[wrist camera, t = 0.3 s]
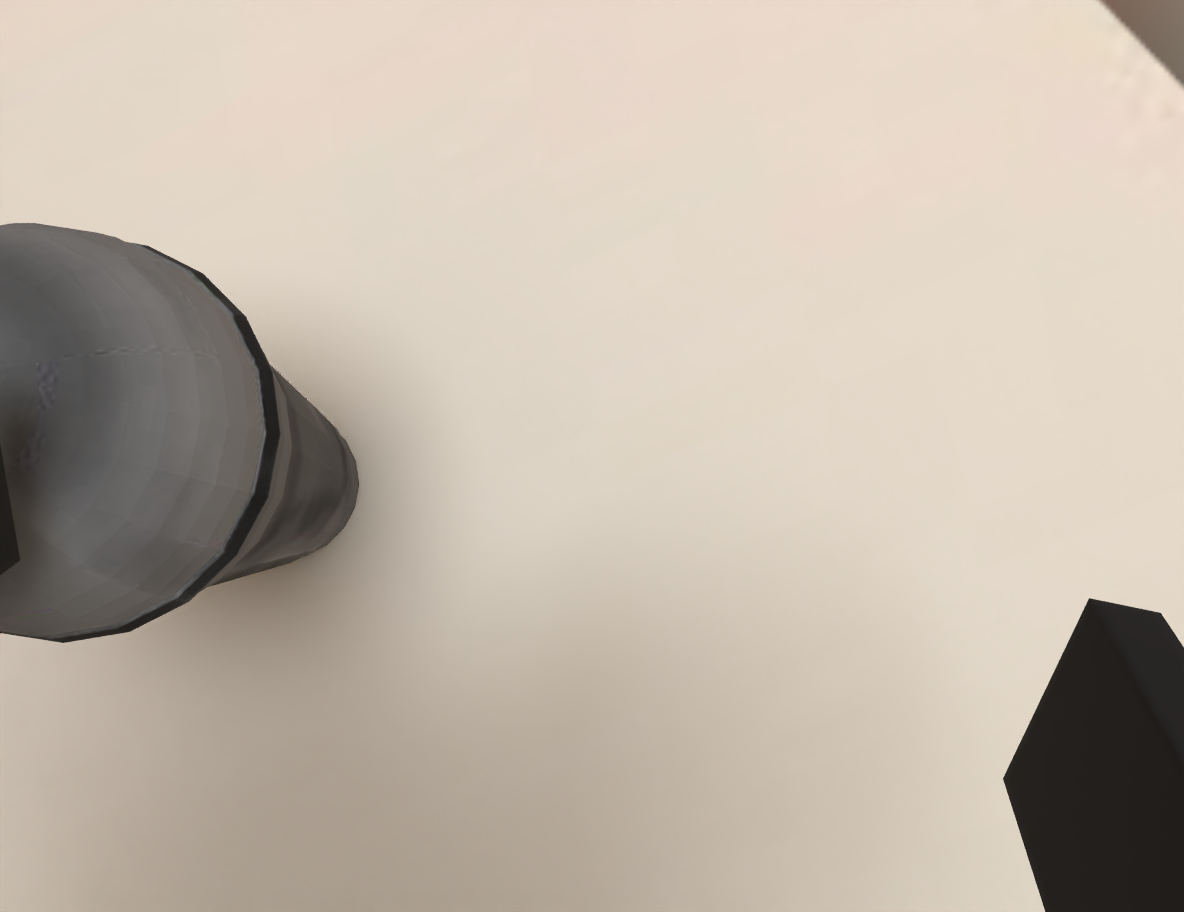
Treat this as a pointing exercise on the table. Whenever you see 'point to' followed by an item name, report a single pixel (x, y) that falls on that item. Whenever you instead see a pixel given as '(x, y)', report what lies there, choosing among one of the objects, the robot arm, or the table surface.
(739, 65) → the table surface
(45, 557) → the beverage cup
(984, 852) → the table surface
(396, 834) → the table surface
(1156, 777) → the robot arm
